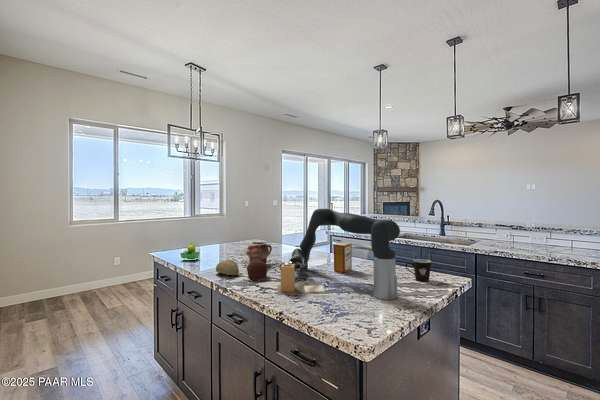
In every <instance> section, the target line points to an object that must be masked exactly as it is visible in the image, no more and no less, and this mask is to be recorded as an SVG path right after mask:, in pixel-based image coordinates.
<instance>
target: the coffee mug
mask: <svg viewBox="0 0 600 400" xmlns="http://www.w3.org/2000/svg"><path fill="white" fill-rule="evenodd" d="M412 260H413V263H412V262H406V263H405V268H406V269H407V271H408V272H410V273H412V274H413V275H414V278H415V281H417V282H420V283H428V282H429V281H430V274H431V267H432V260H431V259H423V258H416V259H412ZM409 264H410V265H412V266H413V268H414V269H413V270H414V271H411V270H410V268H408V267H407V266H408V265H409Z"/></svg>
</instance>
